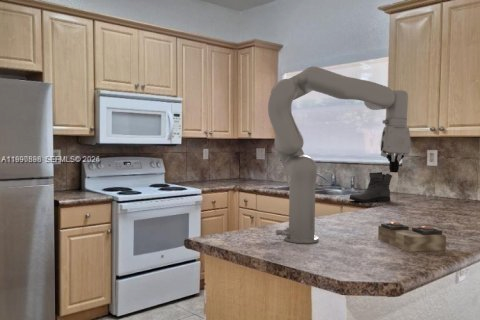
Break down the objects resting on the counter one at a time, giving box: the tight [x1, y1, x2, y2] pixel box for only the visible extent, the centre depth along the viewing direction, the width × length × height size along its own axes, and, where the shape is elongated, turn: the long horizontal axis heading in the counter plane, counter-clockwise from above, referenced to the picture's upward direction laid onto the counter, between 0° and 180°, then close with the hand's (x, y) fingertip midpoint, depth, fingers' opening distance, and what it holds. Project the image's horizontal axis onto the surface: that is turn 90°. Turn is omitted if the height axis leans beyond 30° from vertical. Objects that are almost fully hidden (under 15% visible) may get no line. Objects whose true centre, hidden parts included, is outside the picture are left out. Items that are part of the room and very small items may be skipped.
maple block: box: [377, 222, 447, 253], centre depth 155 cm, size 14×20×6 cm
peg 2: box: [420, 225, 434, 231], centre depth 151 cm, size 4×4×7 cm
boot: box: [349, 171, 393, 203], centre depth 275 cm, size 10×29×19 cm, turn 107°
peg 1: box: [388, 221, 401, 227], centre depth 158 cm, size 4×4×7 cm
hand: (393, 172), depth 162 cm, fingers closed
